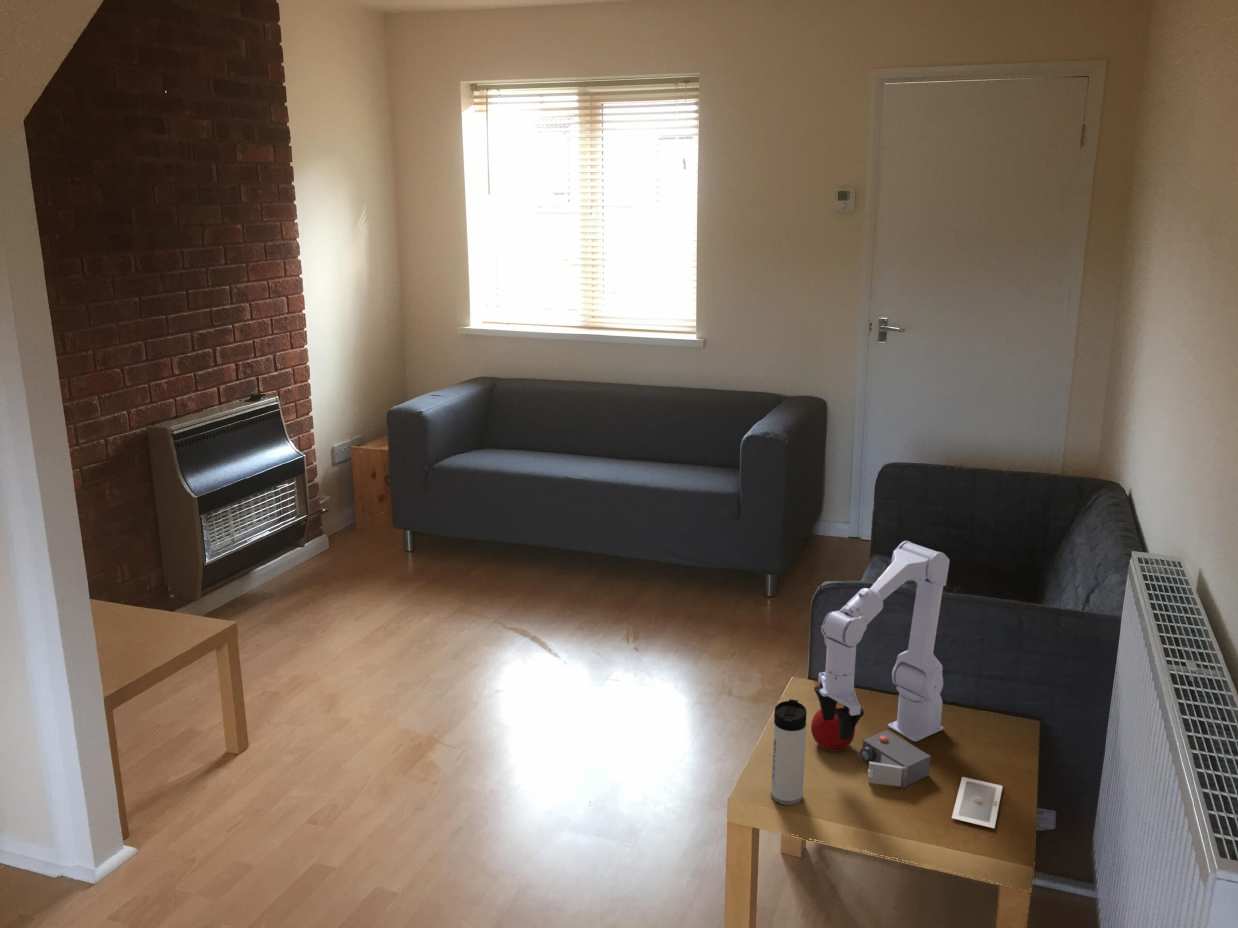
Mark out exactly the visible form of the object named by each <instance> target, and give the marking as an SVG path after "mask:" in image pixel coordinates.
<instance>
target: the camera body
mask: <svg viewBox="0 0 1238 928" xmlns="http://www.w3.org/2000/svg"><path fill="white" fill-rule="evenodd" d="M859 755H860V758H861V760H862V761H863V762H865V763H867V764H869V761H870V762H877V763H883V764H890V765H896V766H902V767H904V766H905V767H907V780H906V787H908V786H910V785H912V784H914V783H916V782H918V781H921V780H922V779H925V778H927V777H929V776H930V765H931V758H932V756H931V755H930V754H929V753H926V752H924V751H923V750H921V749H919V748H918V747H916V746H914V745H913V744H911V743H909V742H907V741H906V740H904V739H902V738H900V736H897V735H896V734H894V733H892V732H891V731H889V730H885V729H884V730H883V731H881V732H879V733H876V734H874V735H872V736H870V737H867V738H865V739H864V738H863V740H862V748H860V750H859Z"/></svg>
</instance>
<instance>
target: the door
mask: <svg viewBox="0 0 1238 928" xmlns="http://www.w3.org/2000/svg"><path fill="white" fill-rule="evenodd" d="M906 780H907V767H905V766H904V767H902V766H896V765H890V764H883V763H877V762H870V761H869V763H868V769H867V782H869V783H875V784H880V785H881V784H882V785H888V786H893V787H899V788H900V789H902V790H906V789H907V786H906Z"/></svg>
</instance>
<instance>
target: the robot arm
mask: <svg viewBox="0 0 1238 928" xmlns="http://www.w3.org/2000/svg"><path fill="white" fill-rule="evenodd" d="M892 552H893V553H892V555H891V563H890V564H889V565H888V566H887V568H886V569H884V571H883V572H882V574H881V575H880V576H879V577H878V578H877V580H876V581H874V583H873V584H872V586H871V587H870V588H867V587H863V588H860V590H859V591H857V593H856V594H855V595H853V597H852V598H850V600H848V601H847V603H846V604H844V606H842V607H841V609H839V610H834V611H830V612H828V614H826V616H825V617H824V619H823V622H822V625H821V627H820V631H821V634H822V635H823V637H824V644H825V646H826V659H825V671H823V672H822V671H821V672H818V680H817V681H818V683H820V684H819V685H815V686H814V688H813V691H814V692H815V694H816V696H817V698H818V702H819V706H820V709H821V711H822V716H823V720H824V721H827V720H833V719H834V716H835V713H836V715H837V718H838V723H839V735H840V739H841V740H847V739H851V737H852V734H853V731H854V728H855V729H856V726H857V724H858V723H859V722H860V721H859V720H860V719H861V718H862V717H863V716H864V714H865V710H864V709H863V708H862V707H861V704H860V703H859V701H858V697H857V695H856V689H855V672H856V671H855V670H856V657H857V656H856V655H857V654H856V653H857V644H859V643H860V642H861V640H862V638H863V636H864V633H865V632H866V630H867V629H868V626H867V625H869V623H870V622H871V621H872V620H873V619H874V618H876V616H877V615H878V614H879V613H880V612H881V611H882V610H884V609H883V608H884V600H885V599H887V598H888V596H890V595H891V594H893V593H894V592H895V591H897V590H898V589H899V588H900V587H901V586H902V585H903V584H904V583H906V582H907V581H913V582H915V583H916V584H917V585H916V593H915V599H914V606H913V612H912V619H911V627H910V635H909V641H908V646H907V650H904V651H903V652H900V653H899V654H898V655H897V657H896V661H895V665H894V666H893V668H892V672H891V679H892V683H893V684H894V685H896V688H895V689H896V691H898V692H899V693H898V701H897V702H898V703H897V704H898V705H897V714H896V715H897V718H896V720H895V721H892V722H889V723H888V724H887V726H888V728H890V729H891V730H893V731H895V732H897V733H898V734H900V735H901V736H903V737H904V738H905V737H906V739H908V740H910V741H912V742H914V743H915V742H918V741H922V740H923V739H925V738H927V737H930V736H932V735H934V734H937V733H938V732H941V731H943V730H944V727H943V726H942V725H941V723H942V711H943V699H942V696H941V692H942V690H943V689H944V688H943V687H944V678H943V669H944V667H943V665H942V664H941V662H940V661H939V660H938V658H937V657H936V655H935V654H934V649H935V642H936V635H937V630H938V629H937V628H938V623H939V617H940V608H941V603H942V602H941V601H942V595H943V590H944V587H945V586H947V580H948V573H949V568H950V561H951V560H950V558H949V557H948V556H947V555H946V554H945V553H944V552H941V551H936V550H934V549H931V548H928V547H925V546H922V545H919V544H916V543H913V542H911V541H909V540H904V541H902V542H901V543H899V545H898V546H897V547H896V548H895V549H894V550H893V551H892ZM838 703H839V704H840V705H843V707H838V709H836V707H837V704H838Z"/></svg>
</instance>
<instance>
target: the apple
mask: <svg viewBox="0 0 1238 928" xmlns="http://www.w3.org/2000/svg"><path fill="white" fill-rule="evenodd" d="M838 708H839V707H838V706H836V709H838ZM810 725H811V727H810V730H811V735H812V736H813V739H814V741H815V742H816V743H817V744H818V745H819V746H820V747H822V749H824V750H828V751H832V752H833V751H834V752H839V751H842V750H845V749H846V748H848V747H849V746H850V744H851V743H852V742H853V740H854V738H855V734H856V727H855V728H854V731H853V734H852V737H851V739H847V740H841V739H840V735H839V723H838V718H837V715H836V713H835V716H834V719H833V720H827V721H824V720H823V716H822V711H821V708H819V709H818V710H817V711H816V712H815V713H814V716H813V717H812V720H811V724H810Z"/></svg>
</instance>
